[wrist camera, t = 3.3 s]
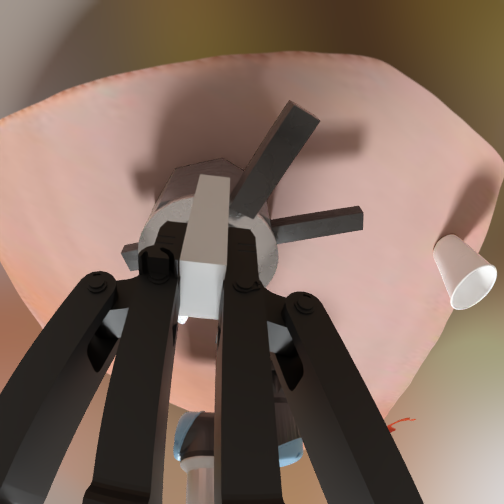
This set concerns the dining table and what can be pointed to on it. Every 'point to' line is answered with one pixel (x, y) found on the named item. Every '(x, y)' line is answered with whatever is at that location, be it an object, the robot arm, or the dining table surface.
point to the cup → (463, 272)
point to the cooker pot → (283, 228)
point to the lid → (250, 189)
